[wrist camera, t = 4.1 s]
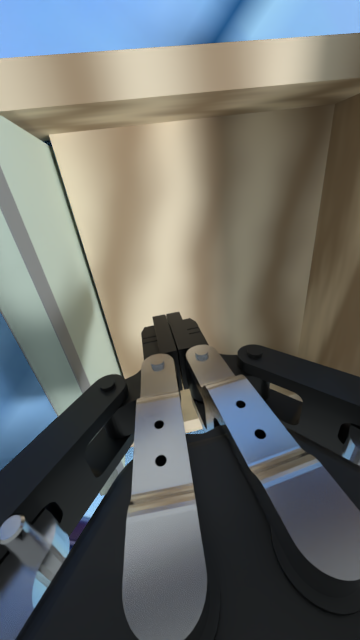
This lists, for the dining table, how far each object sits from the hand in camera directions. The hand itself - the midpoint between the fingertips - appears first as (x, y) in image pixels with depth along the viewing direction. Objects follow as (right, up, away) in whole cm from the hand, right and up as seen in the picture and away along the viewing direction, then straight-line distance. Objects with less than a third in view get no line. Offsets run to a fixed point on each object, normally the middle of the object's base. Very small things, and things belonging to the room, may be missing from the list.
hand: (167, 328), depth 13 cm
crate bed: (+2, +4, +8) cm, 9 cm away
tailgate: (-8, +2, +6) cm, 10 cm away
